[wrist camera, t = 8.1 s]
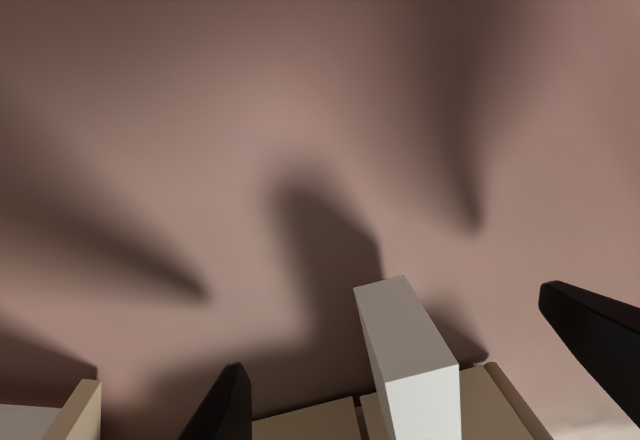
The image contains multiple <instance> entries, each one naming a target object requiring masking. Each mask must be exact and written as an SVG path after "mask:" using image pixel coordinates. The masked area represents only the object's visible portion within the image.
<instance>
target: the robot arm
mask: <svg viewBox="0 0 640 440" xmlns="http://www.w3.org/2000/svg"><path fill="white" fill-rule="evenodd" d="M538 306H539V309H540V311H541V313H542V315H543V316H544V317H545V319H546V320H547V321H548V322H549V324H550V325H551V326H552V328H553V329H554V330H555V332H556V333H557V334H558V336H559V337H560V338H561V340H562V341H563V342H564V343H565V345H566V346H567V347H568V349H569V350H570V351H571V353H572V354H573V355H574V356H575V358H576V359H577V360H578V361H579V362H580V364H581V365H582V366H583V367H584V368H585V369H586V370H587V371H588V373H589V374H590V375H591V376H592V377H593V378H594V379H595V380H596V381H597V382H598V384H599V385H600V386H601V387H602V388H603V389H604V390H605V391H606V392H607V393H608V394H609V396H610V397H611V398H612V399H613V400H614V401H615V402H616V403H617V404H618V405H619V407H620V408H621V409H622V410H623V411H624V412H625V413H626V414H627V415H628V416H629V417H630V419H631V420H632V421H633V422H634V423H635V424H636V425H637V426H638V427H639V428H640V308H638V307H635V306H632V305H629V304H626V303H623V302H621V301H618V300H615V299H612V298H609V297H606V296H603V295H600V294H597V293H594V292H591V291H588V290H585V289H582V288H579V287H576V286H573V285H570V284H567V283H564V282H561V281H557V280H555V281H550V282H546V283H543V284H542V285H541V286H540V293H539V302H538ZM177 440H252V398H251V382H250V379H249V377H248V375H247V373H246V371H245V369H244V367H243V365H242V364H241V363H240V362H236V363H232V364H228V365H226V366H225V367H224V369H223V370H222V372H221V373H220V375H219V376H218V378H217V380H216V381H215V383H214V384H213V386H212V387H211V389H210V390H209V392H208V393H207V395H206V396H205V398H204V399H203V401H202V402H201V404H200V405H199V407H198V409H197V410H196V412H195V413H194V415H193V416H192V418H191V419H190V421H189V422H188V424H187V425H186V427H185V428H184V430H183V431H182V433H181V435H180V436H179V438H178V439H177Z"/></svg>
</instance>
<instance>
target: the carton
mask: <svg viewBox="0 0 640 440" xmlns="http://www.w3.org/2000/svg"><path fill="white" fill-rule="evenodd" d="M252 440H370V439H369V435H368V431H367V426H366V422H365V418H364V414H363V410H362V406H359V407H355V406H354V402H353V398H352V396H350V397H346V398H342V399H338V400H334V401H331V402H327V403H323V404H319V405H315V406H311V407H307V408H303V409H299V410H296V411H292V412H288V413H284V414H280V415H276V416H272V417H268V418H264V419H261V420H257V421H253V422H252Z"/></svg>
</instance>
